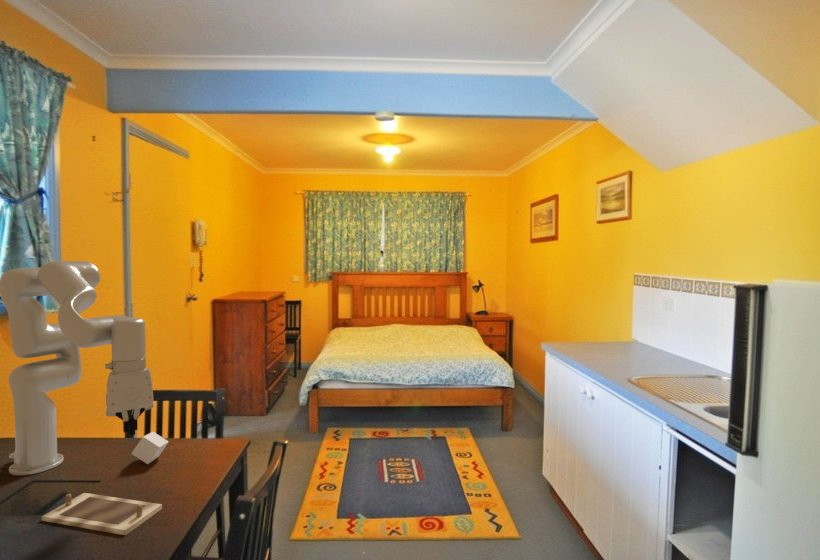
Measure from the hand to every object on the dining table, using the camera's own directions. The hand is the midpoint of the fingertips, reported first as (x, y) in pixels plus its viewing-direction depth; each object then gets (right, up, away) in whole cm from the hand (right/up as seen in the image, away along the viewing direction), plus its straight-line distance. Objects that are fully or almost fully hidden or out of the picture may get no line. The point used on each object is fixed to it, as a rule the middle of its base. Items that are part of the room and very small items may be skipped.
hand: (130, 433), depth 116 cm
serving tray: (-2, -18, -7) cm, 19 cm away
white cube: (-7, -16, +21) cm, 28 cm away
